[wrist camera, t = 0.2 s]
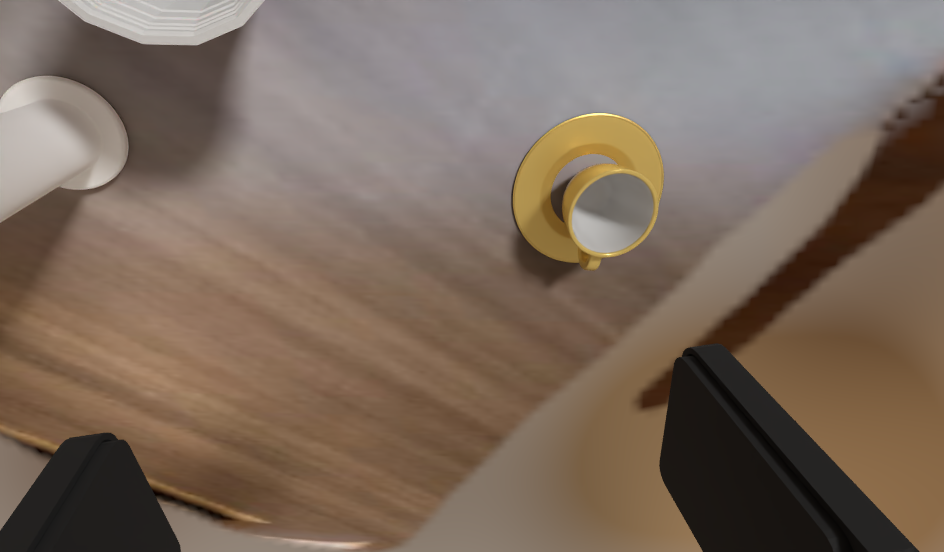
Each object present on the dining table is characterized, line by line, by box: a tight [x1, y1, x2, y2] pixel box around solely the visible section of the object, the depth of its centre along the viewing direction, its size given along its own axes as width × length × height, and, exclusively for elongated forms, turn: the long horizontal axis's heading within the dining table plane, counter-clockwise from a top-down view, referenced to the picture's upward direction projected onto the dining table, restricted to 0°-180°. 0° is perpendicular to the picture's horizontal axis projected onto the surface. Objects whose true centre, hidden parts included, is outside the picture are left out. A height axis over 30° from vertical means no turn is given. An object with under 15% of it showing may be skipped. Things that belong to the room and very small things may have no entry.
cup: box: [513, 113, 664, 271], centre depth 39 cm, size 12×12×5 cm
